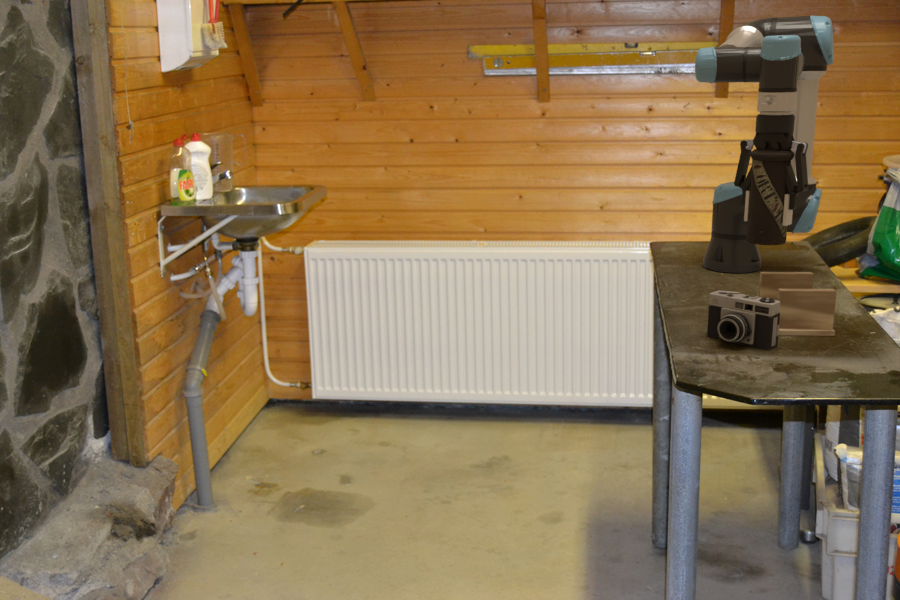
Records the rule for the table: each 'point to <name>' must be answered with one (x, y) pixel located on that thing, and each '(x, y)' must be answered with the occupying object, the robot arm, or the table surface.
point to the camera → (744, 319)
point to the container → (768, 196)
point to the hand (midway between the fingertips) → (767, 222)
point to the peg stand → (800, 303)
